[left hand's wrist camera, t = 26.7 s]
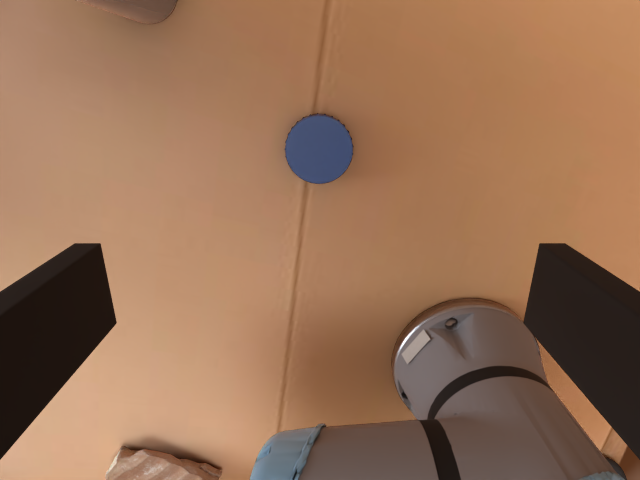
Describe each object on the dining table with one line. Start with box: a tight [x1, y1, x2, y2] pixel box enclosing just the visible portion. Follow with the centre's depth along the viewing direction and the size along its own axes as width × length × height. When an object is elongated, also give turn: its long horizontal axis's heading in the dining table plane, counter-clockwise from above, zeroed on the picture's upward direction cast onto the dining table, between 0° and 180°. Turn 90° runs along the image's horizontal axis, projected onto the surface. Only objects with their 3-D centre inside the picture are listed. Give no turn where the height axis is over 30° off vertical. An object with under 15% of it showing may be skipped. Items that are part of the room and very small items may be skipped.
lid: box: [285, 113, 353, 184], centre depth 36 cm, size 6×6×2 cm
